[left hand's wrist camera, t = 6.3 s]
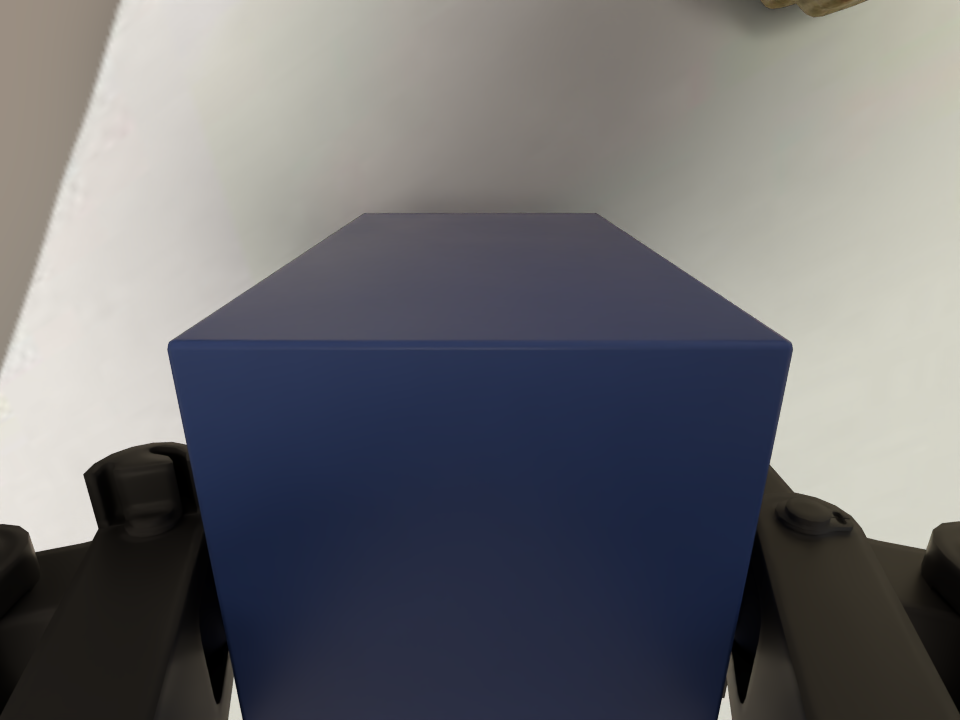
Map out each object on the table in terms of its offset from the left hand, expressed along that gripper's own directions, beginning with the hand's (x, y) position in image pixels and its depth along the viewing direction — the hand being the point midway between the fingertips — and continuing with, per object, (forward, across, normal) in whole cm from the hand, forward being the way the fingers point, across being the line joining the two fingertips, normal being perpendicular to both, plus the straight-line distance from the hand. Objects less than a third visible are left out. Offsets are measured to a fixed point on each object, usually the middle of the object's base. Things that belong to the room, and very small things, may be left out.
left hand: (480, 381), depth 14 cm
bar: (0, 0, -13) cm, 13 cm away
